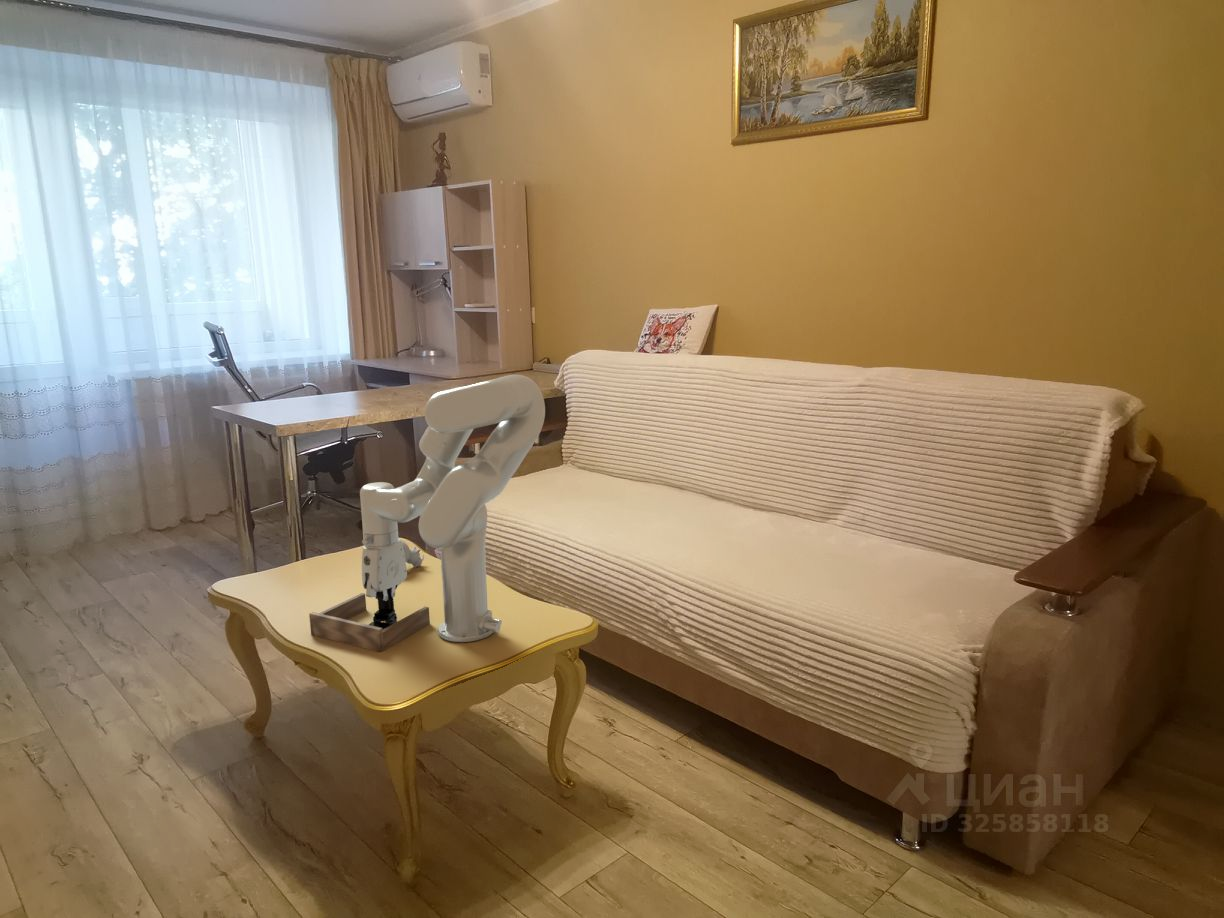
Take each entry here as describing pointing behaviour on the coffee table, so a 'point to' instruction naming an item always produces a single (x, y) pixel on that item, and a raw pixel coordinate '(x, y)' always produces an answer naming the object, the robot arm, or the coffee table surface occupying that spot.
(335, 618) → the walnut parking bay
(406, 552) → the white animal figurine
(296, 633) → the coffee table surface
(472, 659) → the coffee table surface
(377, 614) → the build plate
